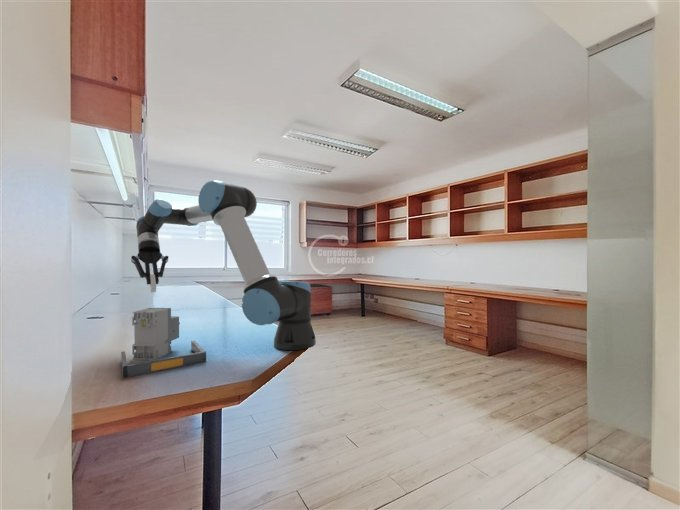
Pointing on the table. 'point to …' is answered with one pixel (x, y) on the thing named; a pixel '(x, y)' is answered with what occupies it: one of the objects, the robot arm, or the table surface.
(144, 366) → the lockout stall
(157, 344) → the circuit breaker
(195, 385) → the table surface
